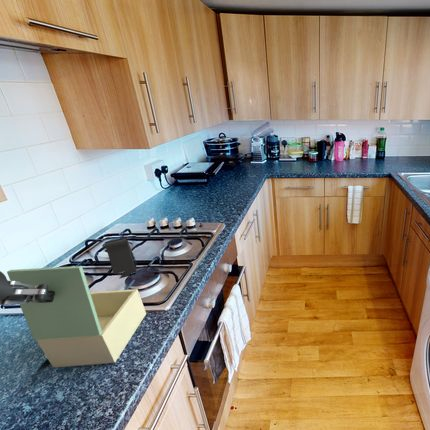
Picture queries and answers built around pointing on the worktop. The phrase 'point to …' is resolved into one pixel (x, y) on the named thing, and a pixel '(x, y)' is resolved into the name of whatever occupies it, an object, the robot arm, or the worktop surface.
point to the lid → (59, 303)
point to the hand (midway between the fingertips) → (50, 297)
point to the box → (111, 331)
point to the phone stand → (121, 256)
